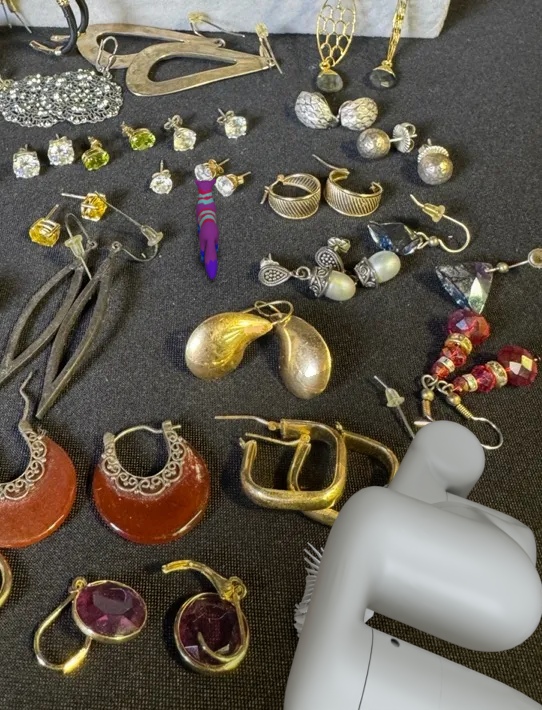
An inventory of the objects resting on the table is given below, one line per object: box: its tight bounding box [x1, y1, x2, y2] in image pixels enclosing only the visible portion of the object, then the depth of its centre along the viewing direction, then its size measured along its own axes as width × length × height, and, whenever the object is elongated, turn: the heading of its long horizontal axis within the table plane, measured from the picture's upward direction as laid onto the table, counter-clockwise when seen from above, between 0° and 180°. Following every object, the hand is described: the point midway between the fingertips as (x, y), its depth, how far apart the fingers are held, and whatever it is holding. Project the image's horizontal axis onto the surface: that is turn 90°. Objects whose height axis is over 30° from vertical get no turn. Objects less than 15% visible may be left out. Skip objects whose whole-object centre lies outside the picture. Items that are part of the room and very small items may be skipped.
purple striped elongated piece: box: [194, 178, 220, 280], centre depth 140 cm, size 4×18×10 cm, turn 4°
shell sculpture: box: [293, 542, 375, 639], centre depth 96 cm, size 8×8×18 cm
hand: (387, 556), depth 107 cm, fingers closed
